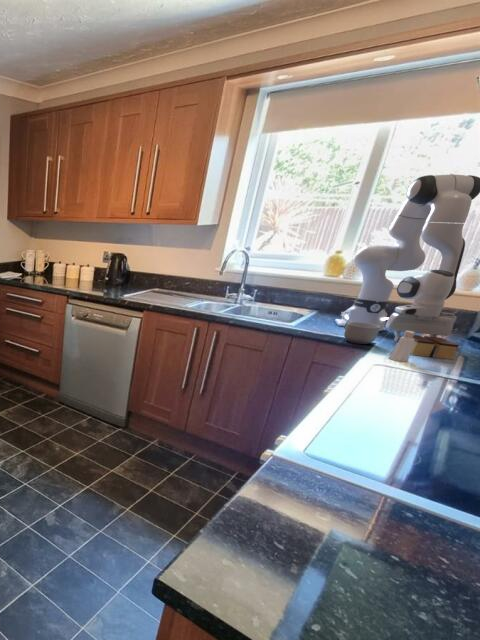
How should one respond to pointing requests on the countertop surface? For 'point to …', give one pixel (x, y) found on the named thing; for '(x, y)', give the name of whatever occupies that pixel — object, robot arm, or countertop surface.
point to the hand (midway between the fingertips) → (411, 342)
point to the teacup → (360, 332)
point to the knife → (434, 351)
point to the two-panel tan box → (426, 344)
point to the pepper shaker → (403, 347)
